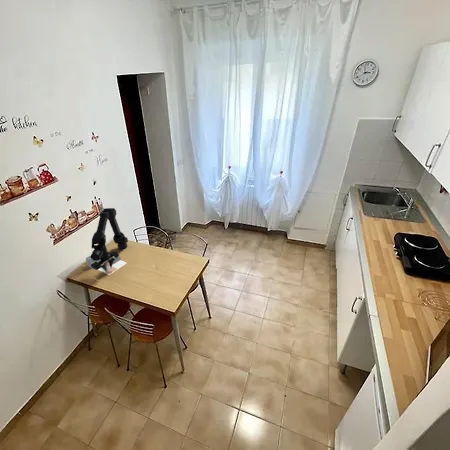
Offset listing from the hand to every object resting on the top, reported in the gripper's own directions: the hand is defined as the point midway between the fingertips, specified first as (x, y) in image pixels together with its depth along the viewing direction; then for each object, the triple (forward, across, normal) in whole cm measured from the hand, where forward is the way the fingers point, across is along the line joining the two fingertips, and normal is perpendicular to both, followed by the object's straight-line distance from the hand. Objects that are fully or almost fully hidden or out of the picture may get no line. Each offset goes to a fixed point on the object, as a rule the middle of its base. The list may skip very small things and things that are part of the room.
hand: (108, 269), depth 180 cm
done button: (+1, -11, -8) cm, 14 cm away
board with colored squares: (+3, -6, -4) cm, 7 cm away
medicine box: (+3, 0, -16) cm, 16 cm away
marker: (+2, 0, 0) cm, 2 cm away
